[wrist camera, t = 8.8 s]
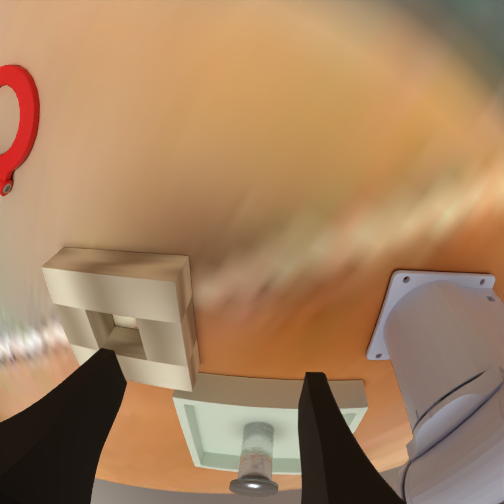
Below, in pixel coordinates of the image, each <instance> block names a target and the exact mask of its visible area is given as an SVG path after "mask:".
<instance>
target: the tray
mask: <svg viewBox="0 0 504 504" xmlns="http://www.w3.org/2000/svg"><path fill="white" fill-rule="evenodd" d="M303 383H304V380H280V379H262V378H248V377H236V376H225V375H216V374H207V373H199V372H198V374H197V377H196V381H195V385H194V389H193V392H190V391H183V390H176V389H175V390H174V394H173V397H172V398H173V401H174V404H175V408H176V411H177V414H178V418H179V421H180V424H181V427H182V430H183V433H184V436H185V439H186V442H187V445H188V448H189V451H190V454H191V457H192V459H193V462H194V465H195V466H196V467H202V468H209V469H217V470H225V471H234V472H238V471H239V463H240V455H241V447H242V438H243V430H244V426H245V425H246V424H248V423H251V422H264V423H268V424H270V425H272V426H273V427H274V447H273V466H272V474H286V475H302V474H301V462H300V450H299V438H298V403H299V399H300V395H301V391H302V387H303ZM328 383H329V386H330V389H331V391H332V393H333V396H334V398H335V400H336V403H337V405H338V407H339V409H340V411H341V413H342V415H343V417H344V419H345V421H346V423H347V425H348V427H349V429H350V430H351V432H352V434H353V433H354V432H355V430H356V428H357V427H358V425H359V423H360V421H361V420H362V418H363V416H364V414H365V413H366V411H367V409H368V403H367V398H366V393H365V388H364V384H363V380H340V381H328Z"/></svg>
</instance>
